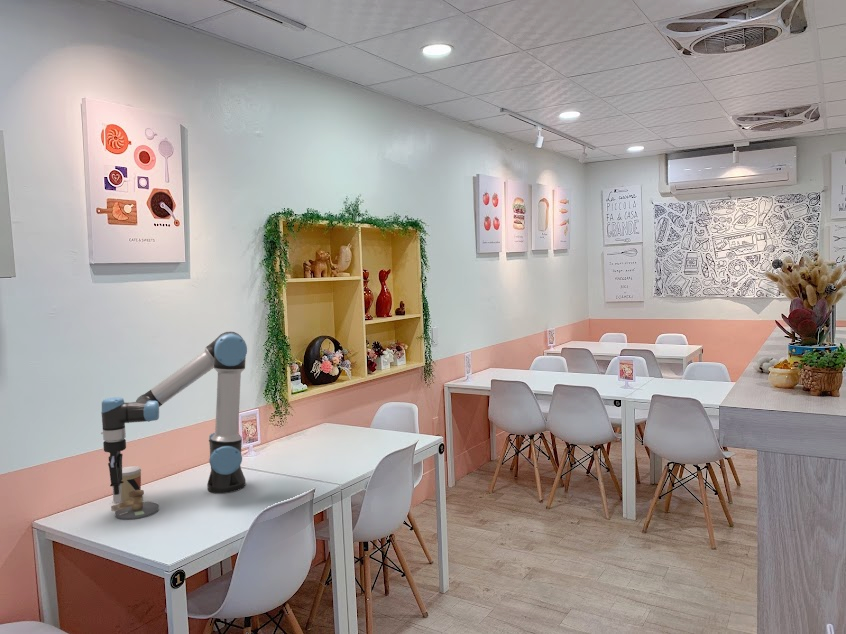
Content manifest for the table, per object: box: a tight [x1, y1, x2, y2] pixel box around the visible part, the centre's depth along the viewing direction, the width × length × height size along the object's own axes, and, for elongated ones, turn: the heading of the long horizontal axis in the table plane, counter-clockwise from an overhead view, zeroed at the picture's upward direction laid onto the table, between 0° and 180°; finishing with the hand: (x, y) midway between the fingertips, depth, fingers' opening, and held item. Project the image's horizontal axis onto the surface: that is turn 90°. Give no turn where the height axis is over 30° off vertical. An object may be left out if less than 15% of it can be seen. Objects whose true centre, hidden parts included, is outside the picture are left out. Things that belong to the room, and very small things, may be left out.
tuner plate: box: [114, 501, 160, 521], centre depth 242 cm, size 15×15×1 cm
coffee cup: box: [120, 465, 142, 503], centre depth 256 cm, size 9×9×12 cm
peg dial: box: [110, 489, 145, 513], centre depth 239 cm, size 12×5×6 cm, turn 144°
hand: (117, 501), depth 242 cm, fingers closed
